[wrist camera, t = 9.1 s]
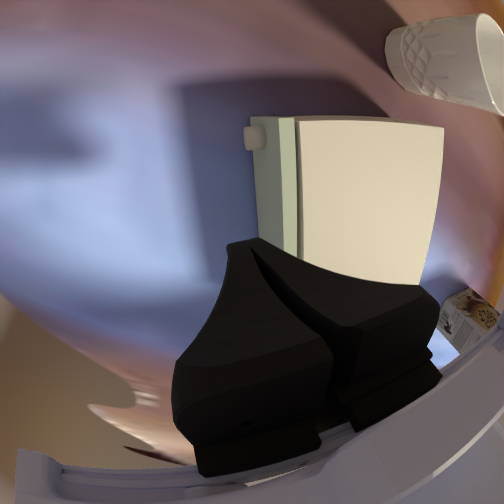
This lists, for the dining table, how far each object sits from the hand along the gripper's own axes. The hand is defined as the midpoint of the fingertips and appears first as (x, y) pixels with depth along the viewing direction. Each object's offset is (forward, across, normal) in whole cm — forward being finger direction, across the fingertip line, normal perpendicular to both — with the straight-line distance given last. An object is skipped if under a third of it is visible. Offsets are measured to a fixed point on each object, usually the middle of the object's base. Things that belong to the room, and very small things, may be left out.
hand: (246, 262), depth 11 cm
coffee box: (+10, -37, +25) cm, 46 cm away
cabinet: (+9, -10, +2) cm, 14 cm away
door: (+9, -3, +2) cm, 10 cm away
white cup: (+10, -19, -11) cm, 24 cm away
